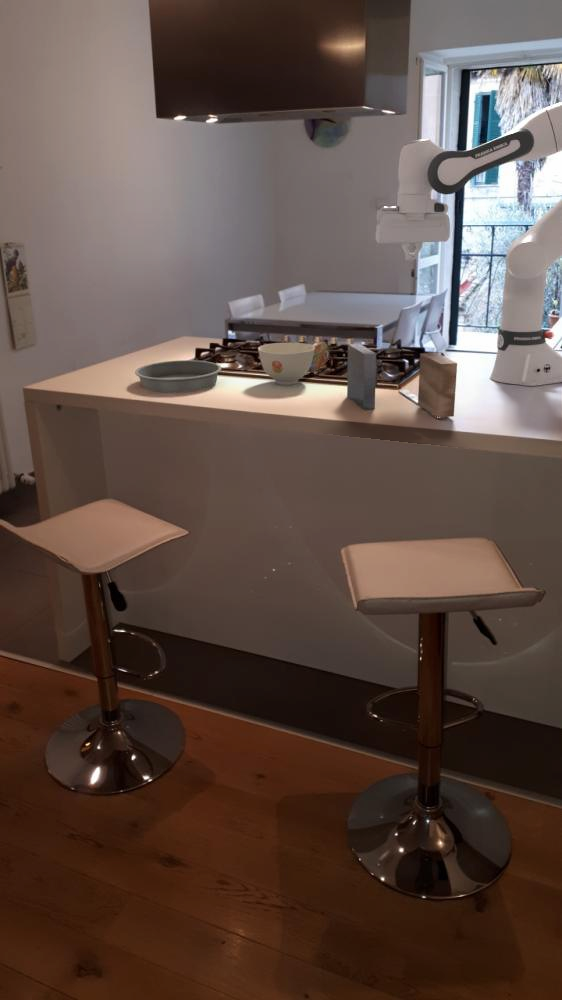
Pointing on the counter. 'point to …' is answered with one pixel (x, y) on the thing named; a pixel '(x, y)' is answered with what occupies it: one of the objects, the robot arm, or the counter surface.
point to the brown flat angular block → (437, 384)
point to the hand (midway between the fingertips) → (411, 260)
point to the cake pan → (178, 375)
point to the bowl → (286, 361)
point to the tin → (319, 356)
